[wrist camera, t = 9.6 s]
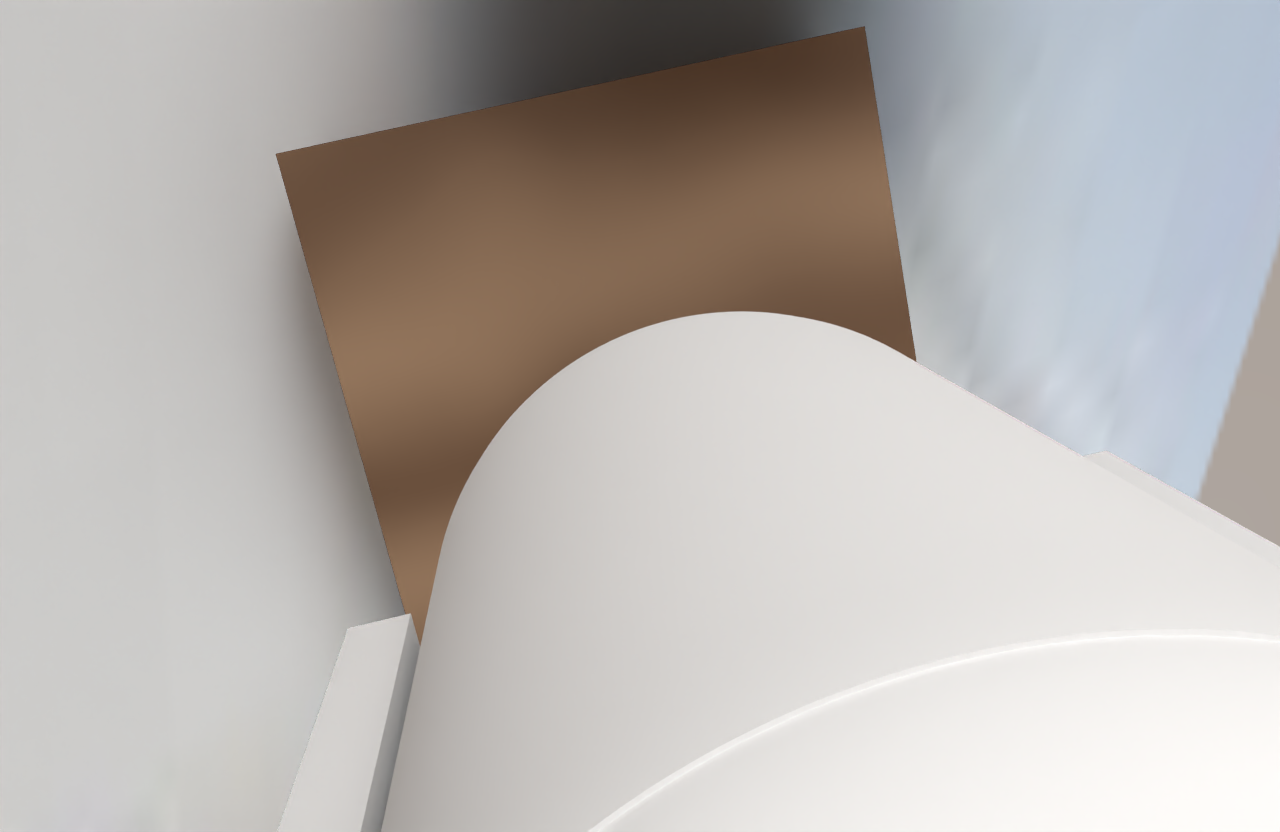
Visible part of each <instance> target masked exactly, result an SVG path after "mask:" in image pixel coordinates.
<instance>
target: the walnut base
mask: <svg viewBox="0 0 1280 832" xmlns="http://www.w3.org/2000/svg"><path fill="white" fill-rule="evenodd" d="M276 157H277V160H278V164H279V167H280V171H281V174H282V178H283V182H284V185H285V189H286V192H287V196H288V199H289V203H290V206H291V210H292V213H293V217H294V221H295V224H296V228H297V231H298V235H299V238H300V242H301V245H302V249H303V252H304V256H305V260H306V263H307V267H308V270H309V274H310V277H311V281H312V284H313V288H314V291H315V295H316V299H317V302H318V306H319V309H320V313H321V316H322V320H323V323H324V327H325V331H326V334H327V338H328V341H329V345H330V348H331V352H332V355H333V359H334V362H335V366H336V370H337V373H338V377H339V380H340V384H341V387H342V391H343V394H344V398H345V401H346V405H347V409H348V412H349V416H350V419H351V423H352V426H353V430H354V433H355V437H356V440H357V444H358V448H359V451H360V455H361V458H362V462H363V465H364V469H365V472H366V476H367V480H368V483H369V487H370V490H371V494H372V497H373V501H374V504H375V508H376V511H377V515H378V519H379V522H380V526H381V529H382V533H383V536H384V540H385V543H386V547H387V550H388V554H389V558H390V561H391V565H392V568H393V572H394V575H395V579H396V582H397V586H398V589H399V593H400V597H401V600H402V604H403V607H404V611H405V614H410V613H411V616H412V620H413V623H414V627H415V630H416V634H417V637H418V641H419V645H420V646H421V641H422V636H423V631H424V627H425V622H426V617H427V613H428V608H429V603H430V598H431V594H432V589H433V584H434V580H435V575H436V570H437V565H438V561H439V556H440V552H441V548H442V544H443V540H444V536H445V533H446V530H447V527H448V524H449V521H450V518H451V515H452V513H453V510H454V508H455V505H456V503H457V501H458V498H459V496H460V494H461V492H462V490H463V488H464V486H465V484H466V482H467V480H468V478H469V476H470V475H471V473H472V471H473V469H474V468H475V466H476V464H477V463H478V461H479V460H480V458H481V456H482V455H483V453H484V452H485V450H486V449H487V447H488V445H489V444H490V443H491V441H492V440H493V438H494V437H495V436H496V434H497V433H498V432H499V430H500V429H501V428H502V426H503V425H504V424H505V423H506V421H507V420H508V419H509V418H510V417H511V416H512V415H513V413H514V412H515V411H516V410H517V409H518V408H519V407H520V406H521V405H522V404H523V403H524V402H525V401H526V400H527V399H528V398H529V397H530V396H531V395H532V394H533V393H534V392H535V391H536V390H537V389H539V388H540V387H541V386H542V385H543V384H544V383H546V382H547V381H548V380H549V379H550V378H552V377H553V376H554V375H556V374H557V373H558V372H560V371H561V370H562V369H564V368H565V367H567V366H568V365H569V364H571V363H572V362H574V361H576V360H577V359H579V358H580V357H582V356H584V355H585V354H587V353H589V352H590V351H592V350H594V349H596V348H598V347H600V346H601V345H603V344H605V343H607V342H610V341H612V340H614V339H616V338H618V337H621V336H623V335H625V334H628V333H630V332H633V331H636V330H638V329H641V328H644V327H647V326H650V325H653V324H657V323H660V322H664V321H668V320H672V319H677V318H681V317H687V316H692V315H699V314H707V313H717V312H737V311H747V312H767V313H777V314H784V315H791V316H796V317H802V318H808V319H813V320H817V321H822V322H826V323H830V324H833V325H837V326H840V327H843V328H846V329H849V330H852V331H855V332H857V333H860V334H863V335H865V336H867V337H870V338H872V339H874V340H876V341H878V342H881V343H883V344H885V345H887V346H889V347H890V348H892V349H894V350H896V351H898V352H900V353H901V354H903V355H905V356H907V357H908V358H910V359H912V360H914V361H915V362H916V356H915V349H914V343H913V336H912V330H911V323H910V317H909V311H908V304H907V298H906V291H905V285H904V278H903V272H902V265H901V259H900V252H899V246H898V239H897V233H896V226H895V220H894V213H893V207H892V201H891V194H890V188H889V181H888V175H887V168H886V162H885V155H884V149H883V142H882V136H881V129H880V123H879V116H878V110H877V104H876V97H875V91H874V84H873V78H872V71H871V65H870V58H869V52H868V45H867V39H866V32H865V26H864V27H859V28H855V29H850V30H845V31H841V32H836V33H832V34H827V35H822V36H818V37H813V38H808V39H804V40H799V41H795V42H790V43H785V44H781V45H776V46H772V47H767V48H762V49H758V50H753V51H748V52H744V53H739V54H735V55H730V56H725V57H721V58H716V59H712V60H707V61H702V62H698V63H693V64H688V65H684V66H679V67H675V68H670V69H665V70H661V71H656V72H652V73H647V74H642V75H638V76H633V77H629V78H624V79H619V80H615V81H610V82H605V83H601V84H596V85H592V86H587V87H582V88H578V89H573V90H569V91H564V92H559V93H555V94H550V95H545V96H541V97H536V98H532V99H527V100H522V101H518V102H513V103H509V104H504V105H499V106H495V107H490V108H485V109H481V110H476V111H472V112H467V113H462V114H458V115H453V116H449V117H444V118H439V119H435V120H430V121H426V122H421V123H416V124H412V125H407V126H402V127H398V128H393V129H389V130H384V131H379V132H375V133H370V134H366V135H361V136H356V137H352V138H347V139H342V140H338V141H333V142H329V143H324V144H319V145H315V146H310V147H306V148H301V149H296V150H292V151H287V152H283V153H278V154H276Z"/></svg>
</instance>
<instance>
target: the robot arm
mask: <svg viewBox="0 0 1280 832" xmlns="http://www.w3.org/2000/svg"><path fill="white" fill-rule="evenodd" d="M1083 457H1085V458H1087V459H1089V460H1090V461H1092V462H1094V463H1096V464H1097V465H1099V466H1101V467H1103V468H1104V469H1106V470H1108V471H1110V472H1111V473H1113V474H1115V475H1117V476H1119V477H1120V478H1122V479H1124V480H1126V481H1127V482H1129V483H1131V484H1133V485H1134V486H1136V487H1138V488H1140V489H1141V490H1143V491H1145V492H1147V493H1149V494H1150V495H1152V496H1154V497H1156V498H1157V499H1159V500H1161V501H1163V502H1164V503H1166V504H1168V505H1170V506H1172V507H1173V508H1175V509H1177V510H1179V511H1180V512H1182V513H1184V514H1186V515H1187V516H1189V517H1191V518H1193V519H1194V520H1196V521H1198V522H1200V523H1202V524H1203V525H1205V526H1207V527H1209V528H1210V529H1212V530H1214V531H1216V532H1217V533H1219V534H1221V535H1223V536H1224V537H1226V538H1228V539H1230V540H1232V541H1233V542H1235V543H1237V544H1239V545H1240V546H1242V547H1244V548H1246V549H1247V550H1249V551H1251V552H1253V553H1255V554H1256V555H1258V556H1260V557H1262V558H1263V559H1265V560H1267V561H1269V562H1270V563H1272V564H1274V565H1276V566H1277V567H1279V568H1280V547H1279V546H1277V545H1275V544H1274V543H1272V542H1270V541H1268V540H1266V539H1265V538H1263V537H1261V536H1259V535H1257V534H1256V533H1254V532H1252V531H1250V530H1248V529H1247V528H1245V527H1243V526H1241V525H1240V524H1238V523H1236V522H1234V521H1232V520H1231V519H1229V518H1227V517H1225V516H1223V515H1222V514H1220V513H1218V512H1216V511H1214V510H1212V509H1211V508H1209V507H1207V506H1205V505H1203V504H1202V503H1200V502H1198V501H1196V500H1195V499H1193V498H1191V497H1189V496H1187V495H1186V494H1184V493H1182V492H1180V491H1178V490H1177V489H1175V488H1173V487H1171V486H1169V485H1168V484H1166V483H1164V482H1162V481H1160V480H1159V479H1157V478H1155V477H1153V476H1151V475H1150V474H1148V473H1146V472H1144V471H1142V470H1141V469H1139V468H1137V467H1135V466H1133V465H1132V464H1130V463H1128V462H1126V461H1124V460H1123V459H1121V458H1119V457H1117V456H1116V455H1114V454H1112V453H1110V452H1108V451H1102V452H1098V453H1094V454H1090V455H1085V456H1083ZM419 650H420V645H419V641H418V637H417V634H416V630H415V627H414V623H413V620H412V616H411V613H410V614H406V615H401V616H397V617H393V618H389V619H384V620H380V621H376V622H371V623H367V624H363V625H359V626H354V627H350V628H348V629H347V632H346V635H345V638H344V641H343V644H342V647H341V649H340V652H339V655H338V658H337V661H336V664H335V667H334V669H333V672H332V675H331V678H330V681H329V684H328V687H327V690H326V692H325V695H324V698H323V701H322V704H321V707H320V710H319V713H318V715H317V718H316V721H315V724H314V727H313V730H312V733H311V735H310V738H309V741H308V744H307V747H306V750H305V753H304V756H303V758H302V761H301V764H300V767H299V770H298V773H297V776H296V778H295V781H294V784H293V787H292V790H291V793H290V796H289V799H288V801H287V804H286V807H285V810H284V813H283V816H282V819H281V821H280V824H279V827H278V830H277V832H381V829H382V824H383V820H384V815H385V810H386V806H387V801H388V796H389V791H390V787H391V782H392V777H393V773H394V768H395V763H396V759H397V754H398V749H399V744H400V740H401V735H402V730H403V726H404V721H405V716H406V711H407V707H408V702H409V697H410V693H411V688H412V683H413V678H414V674H415V669H416V664H417V660H418V655H419Z"/></svg>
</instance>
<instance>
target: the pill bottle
mask: <svg viewBox="0 0 1280 832" xmlns="http://www.w3.org/2000/svg"><path fill="white" fill-rule="evenodd" d="M381 832H1280V568H1279V567H1277V566H1276V565H1274V564H1272V563H1270V562H1269V561H1267V560H1265V559H1263V558H1262V557H1260V556H1258V555H1256V554H1255V553H1253V552H1251V551H1249V550H1247V549H1246V548H1244V547H1242V546H1240V545H1239V544H1237V543H1235V542H1233V541H1232V540H1230V539H1228V538H1226V537H1224V536H1223V535H1221V534H1219V533H1217V532H1216V531H1214V530H1212V529H1210V528H1209V527H1207V526H1205V525H1203V524H1202V523H1200V522H1198V521H1196V520H1194V519H1193V518H1191V517H1189V516H1187V515H1186V514H1184V513H1182V512H1180V511H1179V510H1177V509H1175V508H1173V507H1172V506H1170V505H1168V504H1166V503H1164V502H1163V501H1161V500H1159V499H1157V498H1156V497H1154V496H1152V495H1150V494H1149V493H1147V492H1145V491H1143V490H1141V489H1140V488H1138V487H1136V486H1134V485H1133V484H1131V483H1129V482H1127V481H1126V480H1124V479H1122V478H1120V477H1119V476H1117V475H1115V474H1113V473H1111V472H1110V471H1108V470H1106V469H1104V468H1103V467H1101V466H1099V465H1097V464H1096V463H1094V462H1092V461H1090V460H1089V459H1087V458H1085V457H1083V456H1081V455H1080V454H1078V453H1076V452H1074V451H1073V450H1071V449H1069V448H1067V447H1066V446H1064V445H1062V444H1060V443H1058V442H1057V441H1055V440H1053V439H1051V438H1050V437H1048V436H1046V435H1044V434H1043V433H1041V432H1039V431H1037V430H1036V429H1034V428H1032V427H1030V426H1028V425H1027V424H1025V423H1023V422H1021V421H1020V420H1018V419H1016V418H1014V417H1013V416H1011V415H1009V414H1007V413H1006V412H1004V411H1002V410H1000V409H998V408H997V407H995V406H993V405H991V404H990V403H988V402H986V401H984V400H983V399H981V398H979V397H977V396H975V395H974V394H972V393H970V392H968V391H967V390H965V389H963V388H961V387H960V386H958V385H956V384H954V383H953V382H951V381H949V380H947V379H945V378H944V377H942V376H940V375H938V374H937V373H935V372H933V371H931V370H930V369H928V368H926V367H924V366H923V365H921V364H919V363H917V362H915V361H914V360H912V359H910V358H908V357H907V356H905V355H903V354H901V353H900V352H898V351H896V350H894V349H892V348H890V347H889V346H887V345H885V344H883V343H881V342H878V341H876V340H874V339H872V338H870V337H867V336H865V335H863V334H860V333H857V332H855V331H852V330H849V329H846V328H843V327H840V326H837V325H833V324H830V323H826V322H822V321H817V320H813V319H808V318H802V317H796V316H791V315H784V314H777V313H767V312H747V311H737V312H717V313H707V314H699V315H692V316H687V317H681V318H677V319H672V320H668V321H664V322H660V323H657V324H653V325H650V326H647V327H644V328H641V329H638V330H636V331H633V332H630V333H628V334H625V335H623V336H621V337H618V338H616V339H614V340H612V341H610V342H607V343H605V344H603V345H601V346H600V347H598V348H596V349H594V350H592V351H590V352H589V353H587V354H585V355H584V356H582V357H580V358H579V359H577V360H576V361H574V362H572V363H571V364H569V365H568V366H567V367H565V368H564V369H562V370H561V371H560V372H558V373H557V374H556V375H554V376H553V377H552V378H550V379H549V380H548V381H547V382H546V383H544V384H543V385H542V386H541V387H540V388H539V389H537V390H536V391H535V392H534V393H533V394H532V395H531V396H530V397H529V398H528V399H527V400H526V401H525V402H524V403H523V404H522V405H521V406H520V407H519V408H518V409H517V410H516V411H515V412H514V413H513V415H512V416H511V417H510V418H509V419H508V420H507V421H506V423H505V424H504V425H503V426H502V428H501V429H500V430H499V432H498V433H497V434H496V436H495V437H494V438H493V440H492V441H491V443H490V444H489V445H488V447H487V449H486V450H485V452H484V453H483V455H482V456H481V458H480V460H479V461H478V463H477V464H476V466H475V468H474V469H473V471H472V473H471V475H470V476H469V478H468V480H467V482H466V484H465V486H464V488H463V490H462V492H461V494H460V496H459V498H458V501H457V503H456V505H455V508H454V510H453V513H452V515H451V518H450V521H449V524H448V527H447V530H446V533H445V536H444V540H443V544H442V548H441V552H440V556H439V561H438V565H437V570H436V575H435V580H434V584H433V589H432V594H431V598H430V603H429V608H428V613H427V617H426V622H425V627H424V631H423V636H422V641H421V646H420V650H419V655H418V660H417V664H416V669H415V674H414V678H413V683H412V688H411V693H410V697H409V702H408V707H407V711H406V716H405V721H404V726H403V730H402V735H401V740H400V744H399V749H398V754H397V759H396V763H395V768H394V773H393V777H392V782H391V787H390V791H389V796H388V801H387V806H386V810H385V815H384V820H383V824H382V829H381Z"/></svg>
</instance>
